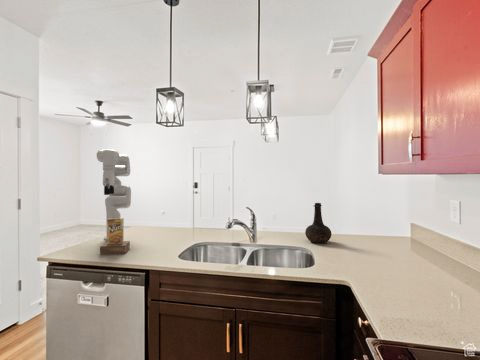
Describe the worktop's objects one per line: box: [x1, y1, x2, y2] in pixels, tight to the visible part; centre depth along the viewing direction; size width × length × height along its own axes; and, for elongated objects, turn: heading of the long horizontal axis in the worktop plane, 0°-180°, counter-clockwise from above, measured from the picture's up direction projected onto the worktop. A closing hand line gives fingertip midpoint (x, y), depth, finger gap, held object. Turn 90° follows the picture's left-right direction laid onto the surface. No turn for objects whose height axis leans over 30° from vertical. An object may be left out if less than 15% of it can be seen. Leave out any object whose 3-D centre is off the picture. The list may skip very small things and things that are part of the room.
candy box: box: [106, 217, 125, 244], centre depth 171 cm, size 9×4×15 cm, turn 105°
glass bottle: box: [305, 202, 332, 244], centre depth 200 cm, size 18×18×28 cm
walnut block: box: [99, 240, 131, 256], centre depth 171 cm, size 12×14×5 cm
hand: (109, 194), depth 184 cm, fingers open, 9 cm apart
